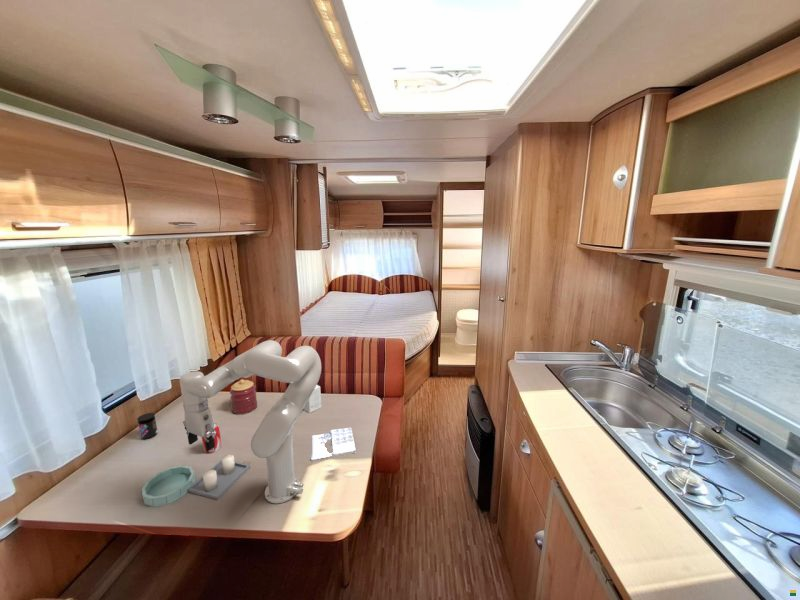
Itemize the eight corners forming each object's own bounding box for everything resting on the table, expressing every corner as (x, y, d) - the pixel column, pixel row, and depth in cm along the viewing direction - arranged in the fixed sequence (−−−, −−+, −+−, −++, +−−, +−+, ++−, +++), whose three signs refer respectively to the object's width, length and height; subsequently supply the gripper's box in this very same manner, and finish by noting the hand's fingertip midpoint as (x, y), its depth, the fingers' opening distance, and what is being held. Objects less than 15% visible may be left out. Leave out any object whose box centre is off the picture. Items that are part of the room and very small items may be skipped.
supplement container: (141, 434, 153) (137, 415, 151) (158, 430, 157) (155, 411, 155) (139, 442, 148) (136, 422, 146) (157, 437, 152) (154, 417, 149)
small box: (315, 403, 182) (313, 383, 180) (321, 407, 178) (320, 386, 176) (303, 409, 176) (301, 388, 173) (309, 413, 172) (308, 391, 169)
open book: (356, 454, 141) (356, 450, 140) (309, 462, 136) (309, 458, 136) (351, 429, 159) (351, 425, 158) (310, 435, 154) (310, 431, 154)
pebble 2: (237, 468, 131) (236, 455, 130) (229, 475, 127) (228, 462, 126) (229, 466, 132) (227, 453, 131) (220, 473, 128) (219, 460, 127)
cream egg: (220, 484, 122) (218, 471, 121) (211, 493, 118) (209, 479, 117) (211, 482, 123) (209, 468, 122) (202, 490, 119) (200, 477, 118)
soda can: (201, 456, 139) (198, 432, 136) (206, 446, 145) (203, 422, 143) (219, 453, 141) (216, 429, 138) (223, 443, 147) (220, 420, 145)
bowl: (204, 478, 126) (203, 470, 125) (166, 511, 111) (164, 502, 110) (173, 470, 130) (172, 462, 129) (132, 502, 115) (130, 492, 114)
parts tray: (250, 468, 132) (250, 464, 131) (218, 501, 115) (217, 496, 115) (223, 462, 135) (222, 458, 135) (188, 493, 119) (187, 489, 119)
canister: (244, 416, 169) (241, 386, 165) (226, 412, 173) (223, 382, 170) (262, 404, 181) (259, 376, 177) (245, 400, 185) (242, 373, 182)
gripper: (221, 405, 116) (226, 445, 119) (190, 395, 122) (196, 434, 126) (201, 415, 109) (207, 458, 112) (170, 405, 116) (177, 445, 119)
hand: (201, 445), depth 119 cm, fingers open, 9 cm apart
